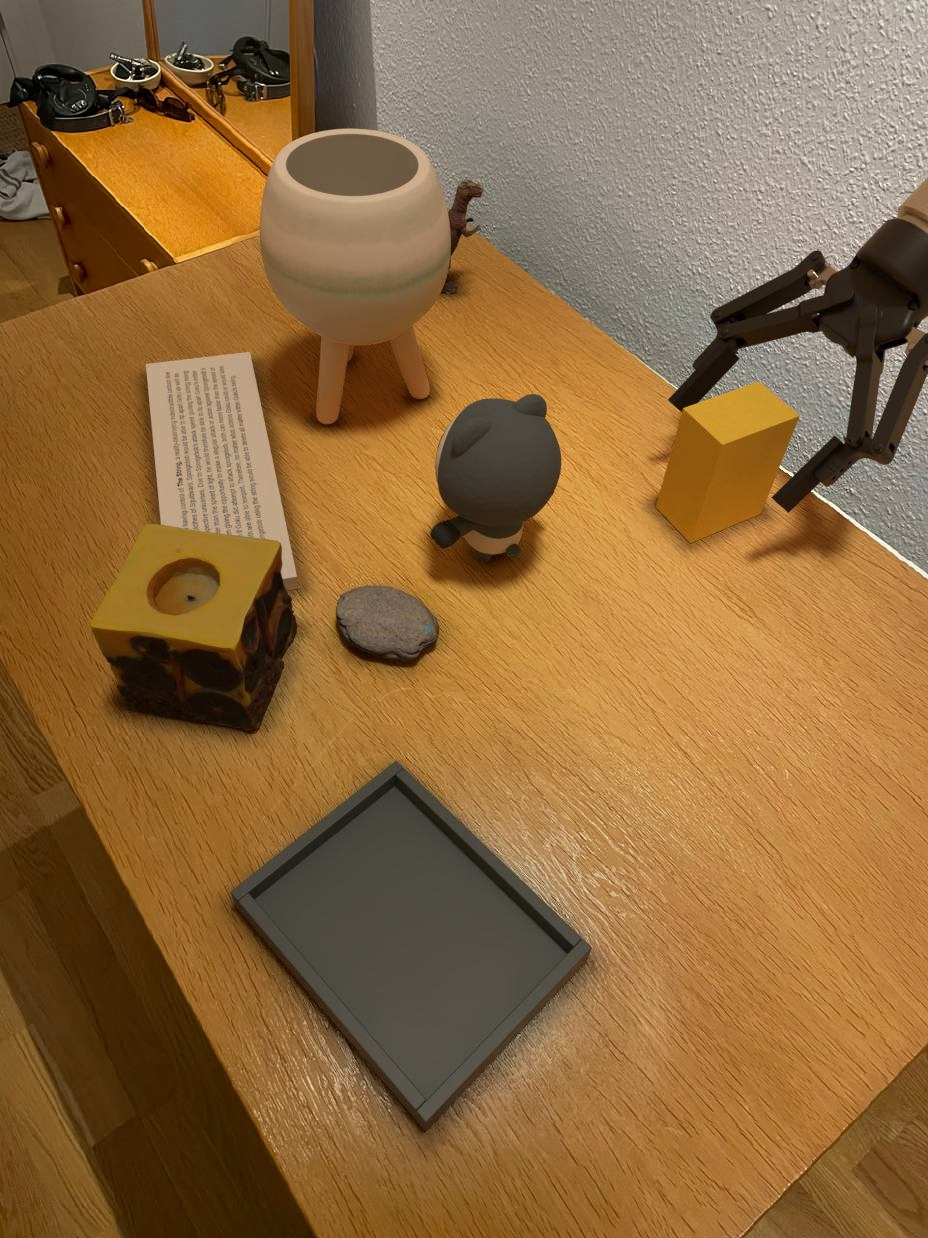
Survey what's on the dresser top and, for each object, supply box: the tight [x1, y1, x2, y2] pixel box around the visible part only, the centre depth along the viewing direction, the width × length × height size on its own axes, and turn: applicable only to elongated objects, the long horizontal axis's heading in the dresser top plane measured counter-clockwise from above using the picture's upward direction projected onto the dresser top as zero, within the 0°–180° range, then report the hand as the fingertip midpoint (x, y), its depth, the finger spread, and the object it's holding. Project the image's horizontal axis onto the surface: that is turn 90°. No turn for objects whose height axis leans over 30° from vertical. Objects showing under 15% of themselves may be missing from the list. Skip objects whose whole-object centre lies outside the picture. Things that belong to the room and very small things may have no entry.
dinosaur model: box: [441, 179, 485, 295], centre depth 100 cm, size 4×12×15 cm
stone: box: [335, 584, 440, 663], centre depth 73 cm, size 7×8×2 cm
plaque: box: [145, 351, 300, 592], centre depth 84 cm, size 30×2×10 cm
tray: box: [230, 760, 593, 1132], centre depth 58 cm, size 18×14×2 cm
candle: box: [90, 522, 298, 732], centre depth 67 cm, size 10×10×10 cm
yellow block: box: [655, 381, 801, 544], centre depth 80 cm, size 5×8×11 cm, turn 119°
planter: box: [259, 128, 451, 425], centre depth 84 cm, size 16×16×22 cm
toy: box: [429, 393, 562, 563], centre depth 74 cm, size 12×10×15 cm
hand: (725, 454), depth 79 cm, fingers open, 13 cm apart
